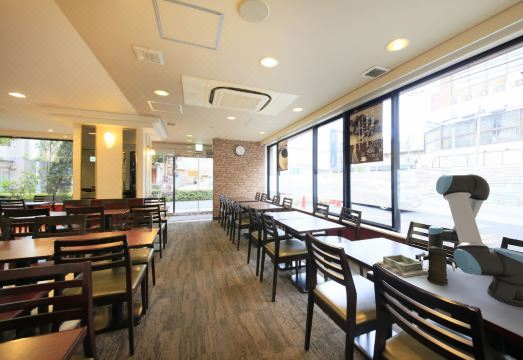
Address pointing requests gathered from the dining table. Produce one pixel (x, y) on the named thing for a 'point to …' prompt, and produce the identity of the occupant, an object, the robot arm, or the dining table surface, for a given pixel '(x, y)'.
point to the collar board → (403, 265)
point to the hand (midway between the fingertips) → (437, 265)
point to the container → (437, 266)
